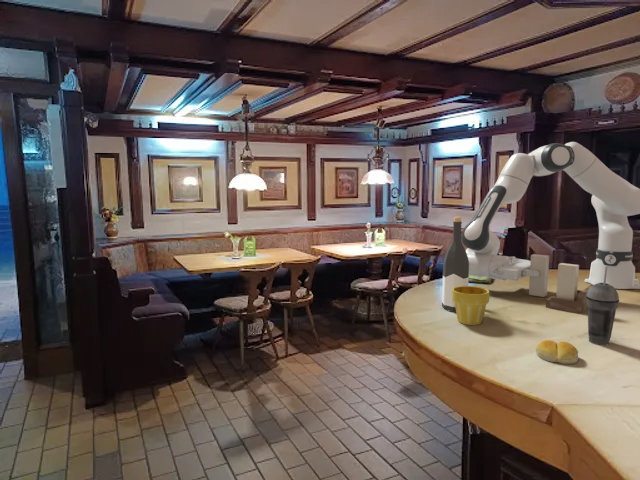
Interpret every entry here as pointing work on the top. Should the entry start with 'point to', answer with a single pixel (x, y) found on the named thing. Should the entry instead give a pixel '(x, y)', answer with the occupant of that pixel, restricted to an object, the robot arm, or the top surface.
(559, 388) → the top surface
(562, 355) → the bread roll
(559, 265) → the clay strip
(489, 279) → the washcloth
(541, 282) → the clay strip
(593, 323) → the beverage cup
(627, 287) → the robot arm
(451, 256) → the wine bottle
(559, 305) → the wooden divided tray
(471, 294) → the plant pot
